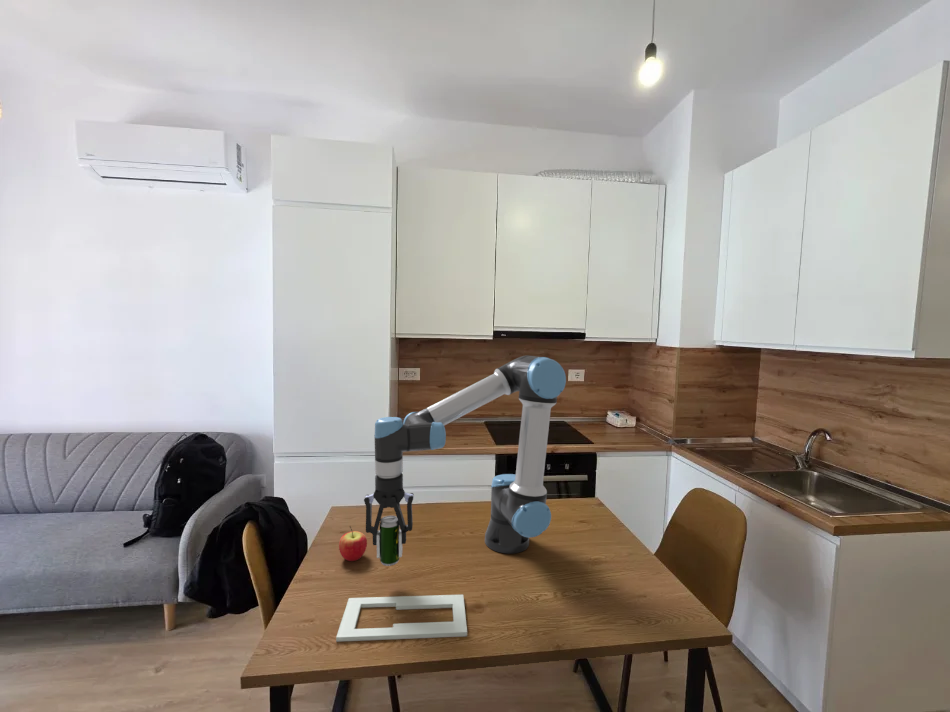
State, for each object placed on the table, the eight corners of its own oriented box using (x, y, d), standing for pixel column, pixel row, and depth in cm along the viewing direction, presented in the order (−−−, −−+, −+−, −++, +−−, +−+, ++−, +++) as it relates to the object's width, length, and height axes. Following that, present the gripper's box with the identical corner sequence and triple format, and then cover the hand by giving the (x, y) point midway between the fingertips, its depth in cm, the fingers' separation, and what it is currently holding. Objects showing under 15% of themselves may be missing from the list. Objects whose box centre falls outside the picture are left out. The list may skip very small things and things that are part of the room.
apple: (355, 548, 134) (355, 518, 134) (372, 557, 129) (373, 526, 129) (333, 559, 128) (333, 528, 127) (350, 569, 123) (351, 536, 122)
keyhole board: (463, 598, 111) (463, 594, 111) (467, 636, 97) (467, 632, 97) (348, 601, 108) (348, 598, 108) (336, 641, 94) (336, 637, 94)
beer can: (380, 567, 112) (379, 525, 112) (380, 557, 118) (379, 516, 117) (400, 565, 114) (399, 522, 113) (399, 554, 119) (398, 514, 118)
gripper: (422, 468, 119) (423, 546, 120) (357, 470, 117) (358, 549, 118) (421, 477, 111) (422, 560, 113) (352, 479, 109) (353, 564, 111)
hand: (389, 554), depth 116 cm, fingers closed on beer can, 5 cm apart
